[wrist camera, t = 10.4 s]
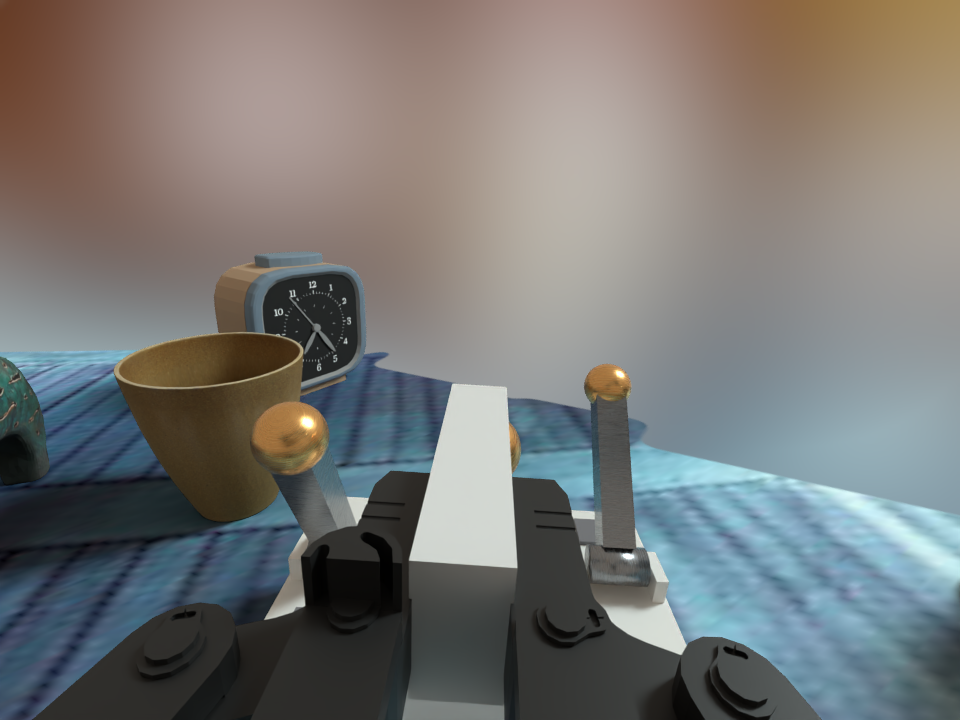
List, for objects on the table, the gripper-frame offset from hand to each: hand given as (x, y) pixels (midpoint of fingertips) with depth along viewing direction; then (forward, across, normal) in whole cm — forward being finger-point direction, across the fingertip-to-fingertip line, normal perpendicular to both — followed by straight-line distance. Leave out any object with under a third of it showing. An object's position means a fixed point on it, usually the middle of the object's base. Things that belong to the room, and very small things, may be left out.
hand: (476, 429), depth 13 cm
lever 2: (+10, +9, -15) cm, 20 cm away
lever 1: (+11, -8, -15) cm, 21 cm away
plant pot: (+27, -24, -24) cm, 44 cm away
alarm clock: (+58, -30, -24) cm, 70 cm away
